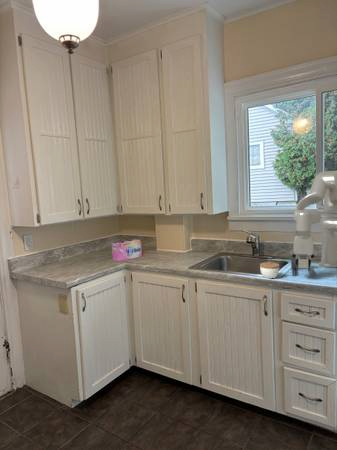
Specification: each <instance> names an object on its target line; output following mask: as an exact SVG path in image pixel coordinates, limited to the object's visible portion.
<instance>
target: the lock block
mask: <svg viewBox="0 0 337 450" xmlns="http://www.w3.org/2000/svg"><path fill="white" fill-rule="evenodd" d="M298 268H308V257H304V256H298Z"/></svg>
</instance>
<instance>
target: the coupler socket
mask: <svg viewBox="0 0 337 450" xmlns="http://www.w3.org/2000/svg"><path fill="white" fill-rule="evenodd" d="M290 255H291V254H290ZM299 256H304V257H308V255H299ZM290 258H291V259H290V264H291V265H290V268H291V270H292V271H291V276H292V277H296V270H303V269H308V270H307V273H308V275H310V276H311V277H310V276H309V277H310V278H314V277H313V275H314V272H313V268H312V265H310V267H308V268H298V266H297V265H296V259H295V258H294V257H293V256H292V255H291V256H290ZM308 258H309V257H308Z"/></svg>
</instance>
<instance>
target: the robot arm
mask: <svg viewBox="0 0 337 450" xmlns="http://www.w3.org/2000/svg"><path fill="white" fill-rule="evenodd" d="M312 181H313V182H312V184H311V187H310V190H309V192H308V194H306V195H305V196H304V197H302V199H300V200H299V202H298V203H297V204H296V206H295V208H294V211H293V220H294V221H295V223H296V224H295V227H296V228H295V230H294V231H293V235H294V240H293V247H292V249H290V251H289V252H288V254H289V255H292V256H293V257H294V258H295V259H296V265H297V266H298V256H299V255H308V257H309V258H308V267H310V266H312V259H314V257H315V256H317V255H318V254H319V253H318V252H317V251H316V249H315V248H314V240H313V239H314V237H313V236H312V225H313V224H318V223H319V222H320V223H319V224H320V225H319V226H320V231H321V261H320V262H319V261H318V265H319V266H320V267H323V266H324V267H325V268H337V233H336V232H337V216H334V215H337V170H325V171H324V170H323V171H321V172H318V173H317V174H316V175H315V176H314V179H313V180H312ZM321 201H323V212H324V213H325V214H326V215H327V214H328V216H323V217H322V215H321V214H322V213H321V212H320V211H319V210H316V209H306V208H308V207H309V206H311V205H314V204H316V203H320V202H321ZM329 215H330V216H329ZM331 215H332V216H331ZM324 267H323V268H324Z"/></svg>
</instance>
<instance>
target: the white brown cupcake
mask: <svg viewBox="0 0 337 450" xmlns="http://www.w3.org/2000/svg"><path fill="white" fill-rule="evenodd" d="M259 268H260V269H259V270H260V274H261V275H262V277H263V278H264V277H265V278H264V279H266V278H274V279H276V277H277V276H279V272H280V264H279V263H277V262H271V261H267V262H261V263H260V264H259Z"/></svg>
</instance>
